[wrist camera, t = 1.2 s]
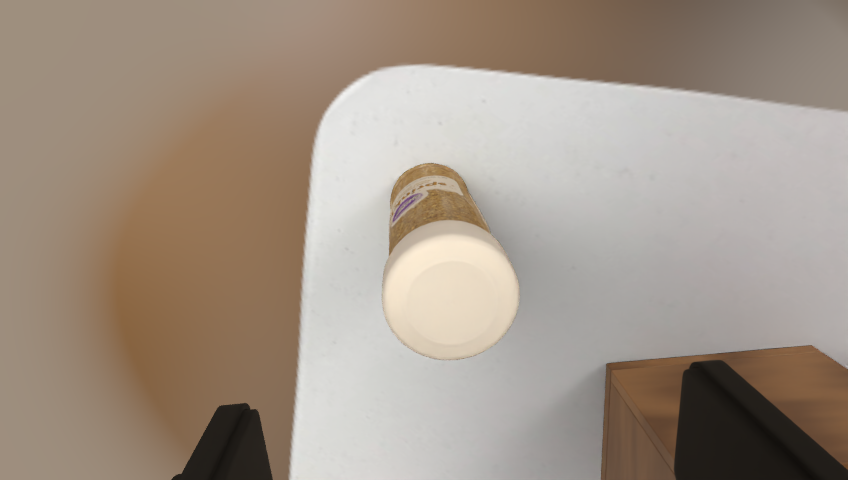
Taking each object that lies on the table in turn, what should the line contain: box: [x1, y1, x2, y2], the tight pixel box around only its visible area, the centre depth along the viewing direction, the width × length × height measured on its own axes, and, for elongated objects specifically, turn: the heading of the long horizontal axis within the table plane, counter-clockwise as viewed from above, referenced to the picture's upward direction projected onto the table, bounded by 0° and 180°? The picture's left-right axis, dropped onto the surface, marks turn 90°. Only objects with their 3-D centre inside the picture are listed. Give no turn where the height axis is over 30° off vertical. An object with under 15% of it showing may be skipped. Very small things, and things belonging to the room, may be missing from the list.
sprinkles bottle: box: [382, 163, 520, 360], centre depth 23 cm, size 5×5×13 cm
